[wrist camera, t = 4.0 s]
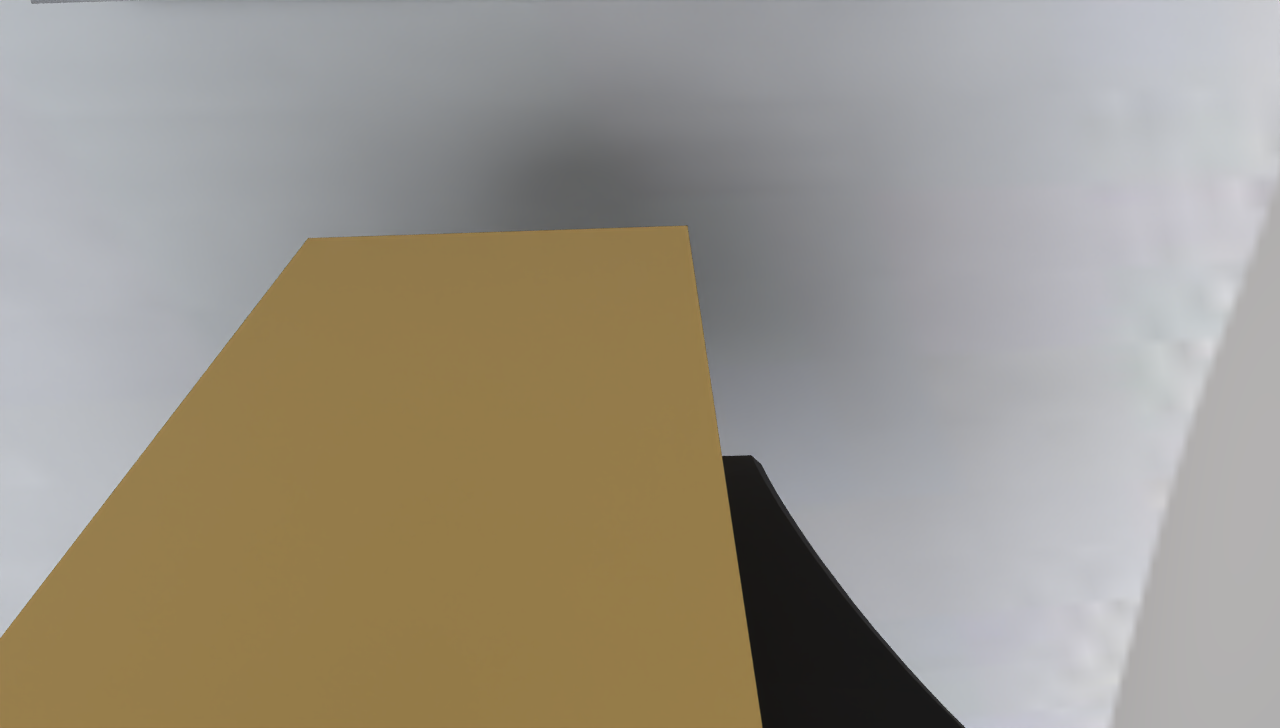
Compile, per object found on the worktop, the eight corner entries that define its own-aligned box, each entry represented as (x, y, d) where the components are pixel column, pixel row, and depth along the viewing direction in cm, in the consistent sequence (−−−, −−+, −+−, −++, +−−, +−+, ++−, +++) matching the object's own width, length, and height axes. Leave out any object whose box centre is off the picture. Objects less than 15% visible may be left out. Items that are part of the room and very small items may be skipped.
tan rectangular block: (682, 581, 14) (741, 1374, 7) (431, 588, 14) (227, 1388, 7) (677, 160, 11) (771, 782, 4) (359, 171, 11) (-130, 806, 4)
